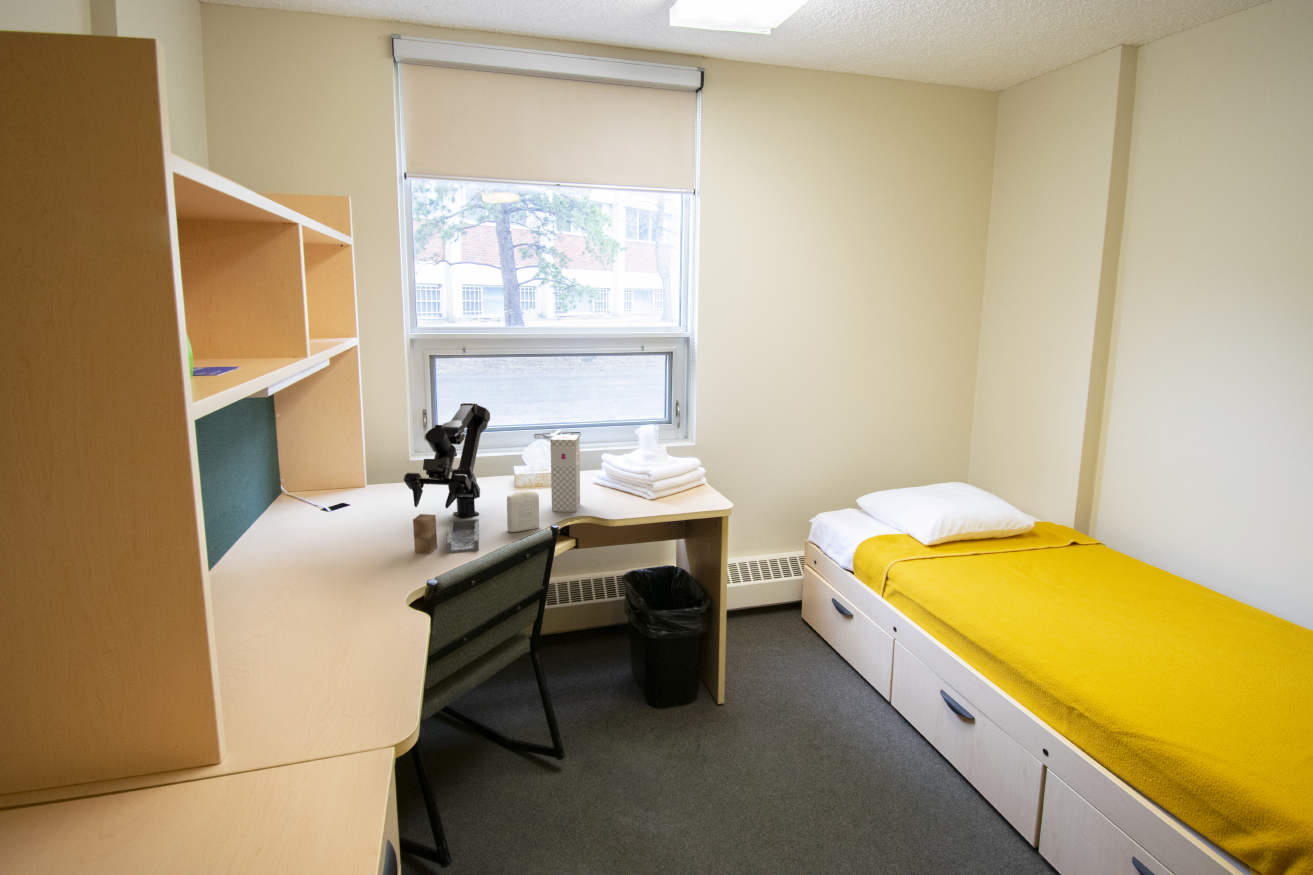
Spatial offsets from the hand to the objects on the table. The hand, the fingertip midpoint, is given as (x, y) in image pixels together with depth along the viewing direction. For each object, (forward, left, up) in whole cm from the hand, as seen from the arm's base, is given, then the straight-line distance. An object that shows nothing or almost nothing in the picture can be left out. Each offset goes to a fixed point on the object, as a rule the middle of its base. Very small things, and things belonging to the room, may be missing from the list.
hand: (430, 507), depth 198 cm
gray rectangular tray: (+2, +9, -11) cm, 14 cm away
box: (-5, +50, -12) cm, 52 cm away
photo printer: (+5, +27, -12) cm, 30 cm away
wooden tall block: (+3, -4, -11) cm, 12 cm away
